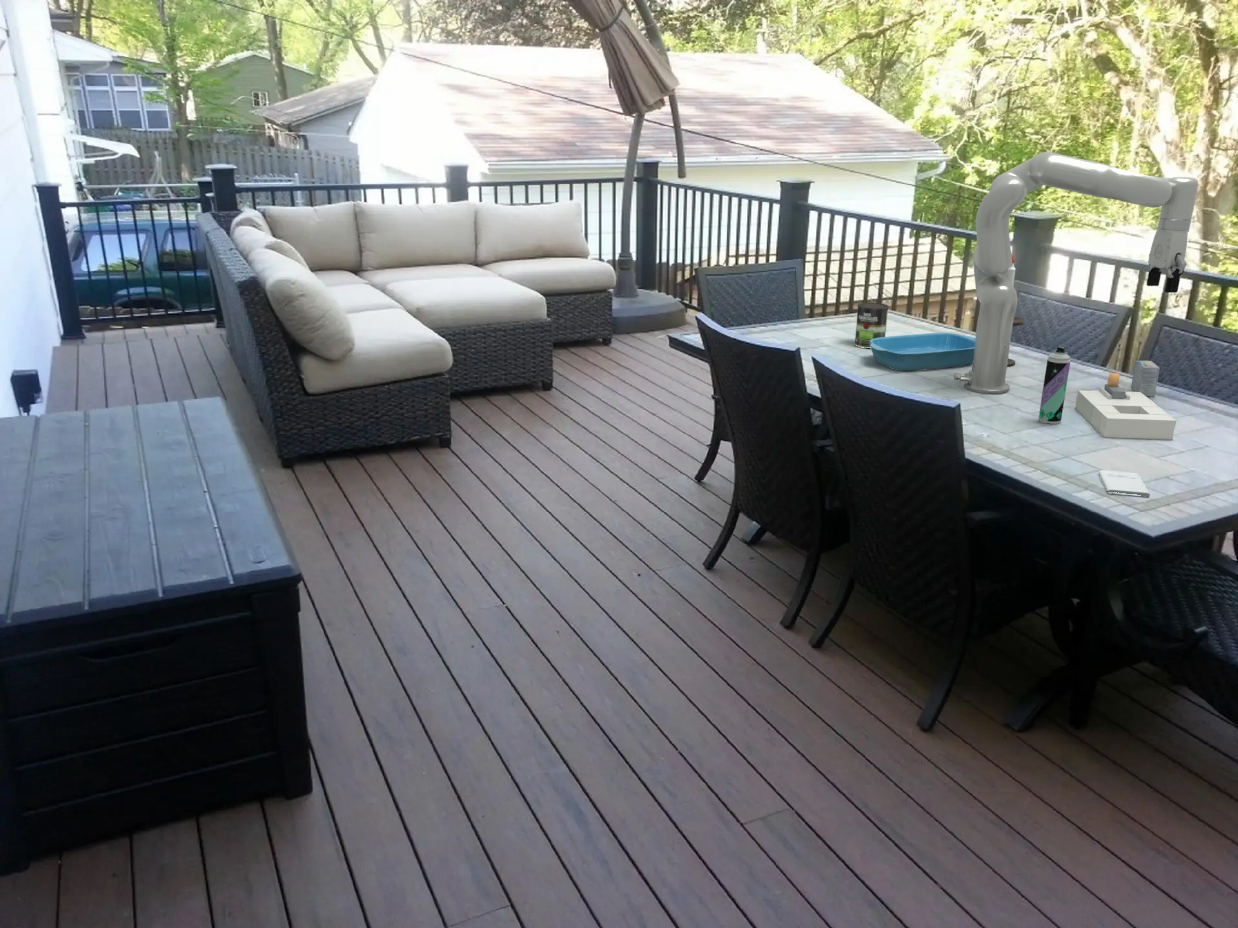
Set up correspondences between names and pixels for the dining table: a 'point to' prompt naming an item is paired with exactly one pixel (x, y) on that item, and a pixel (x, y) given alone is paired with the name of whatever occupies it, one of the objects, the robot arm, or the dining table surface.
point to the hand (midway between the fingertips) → (1161, 289)
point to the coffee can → (870, 323)
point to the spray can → (1054, 387)
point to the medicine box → (1145, 378)
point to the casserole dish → (924, 351)
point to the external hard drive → (1123, 482)
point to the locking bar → (1114, 386)
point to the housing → (1125, 415)
